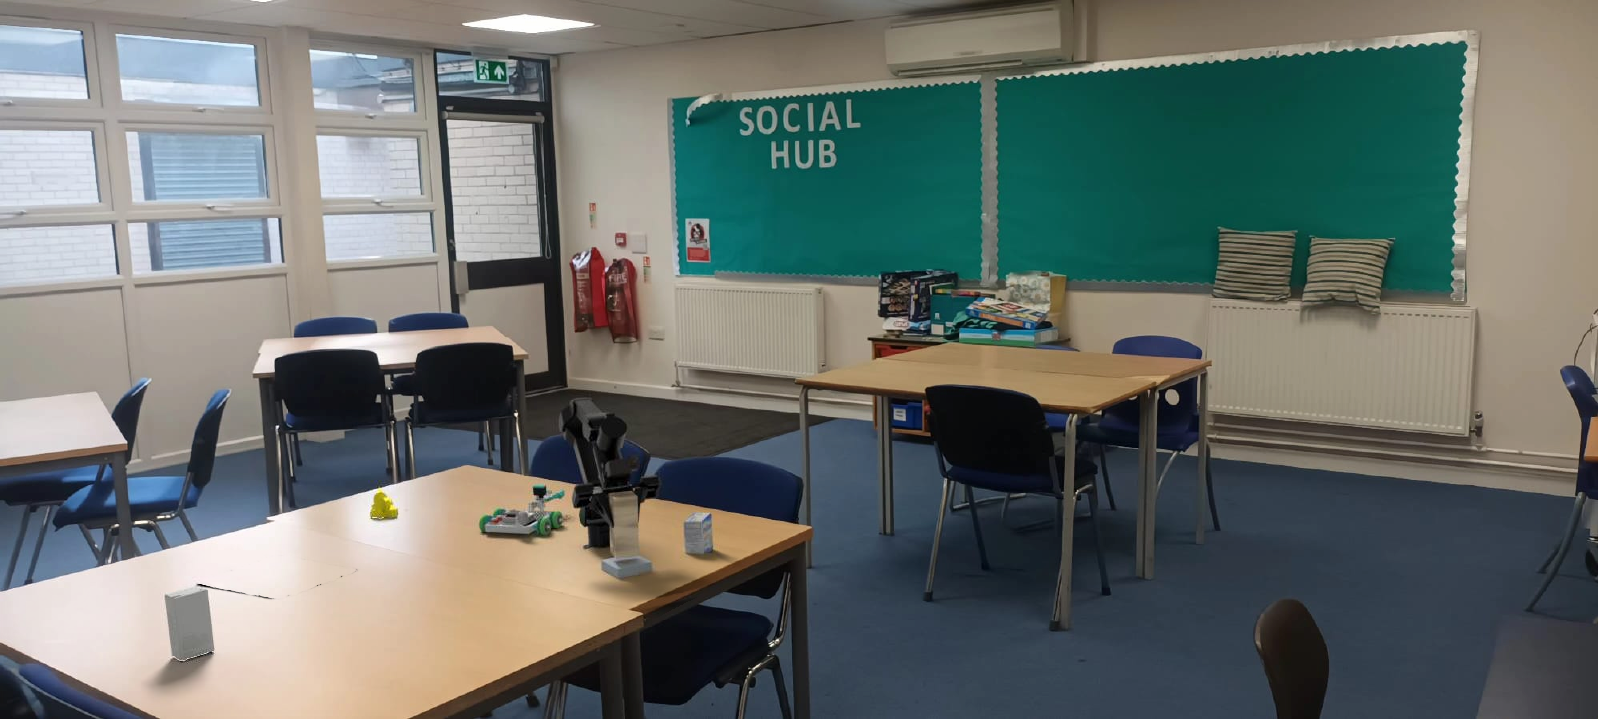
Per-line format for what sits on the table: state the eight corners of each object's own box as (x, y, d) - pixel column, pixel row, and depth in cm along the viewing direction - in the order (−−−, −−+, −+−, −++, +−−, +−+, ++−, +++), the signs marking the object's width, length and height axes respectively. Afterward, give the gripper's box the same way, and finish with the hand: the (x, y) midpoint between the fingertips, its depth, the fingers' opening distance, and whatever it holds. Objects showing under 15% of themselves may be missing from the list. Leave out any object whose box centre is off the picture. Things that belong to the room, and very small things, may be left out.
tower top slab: (601, 569, 246) (601, 560, 245) (635, 561, 250) (634, 553, 250) (618, 578, 239) (617, 569, 239) (652, 570, 244) (651, 561, 243)
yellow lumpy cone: (386, 520, 296) (383, 491, 295) (364, 517, 300) (362, 488, 299) (403, 515, 301) (401, 486, 300) (382, 512, 305) (380, 483, 304)
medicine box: (703, 559, 255) (702, 521, 254) (684, 558, 256) (683, 521, 255) (713, 549, 262) (712, 512, 261) (694, 548, 263) (693, 511, 262)
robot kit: (586, 513, 298) (584, 478, 297) (539, 541, 274) (537, 503, 273) (522, 510, 303) (520, 476, 302) (471, 537, 279) (468, 499, 278)
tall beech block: (610, 552, 246) (608, 493, 244) (633, 549, 248) (631, 490, 246) (616, 558, 241) (614, 498, 239) (639, 555, 243) (637, 496, 241)
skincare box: (205, 647, 210) (198, 583, 209) (216, 653, 207) (209, 588, 206) (169, 658, 206) (163, 593, 204) (180, 663, 203) (173, 598, 201)
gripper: (571, 448, 241) (586, 511, 233) (657, 438, 248) (674, 499, 240) (566, 476, 249) (579, 538, 241) (648, 466, 257) (665, 526, 248)
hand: (625, 525), depth 242 cm, fingers closed on tall beech block, 5 cm apart
